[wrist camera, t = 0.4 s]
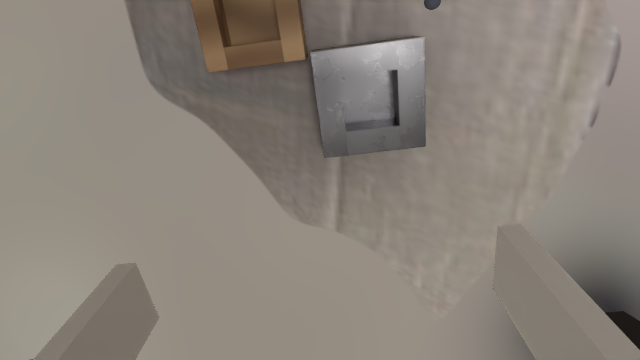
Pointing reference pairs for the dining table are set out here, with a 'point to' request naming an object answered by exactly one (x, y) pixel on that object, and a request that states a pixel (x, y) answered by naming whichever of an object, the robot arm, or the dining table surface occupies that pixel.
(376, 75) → the block
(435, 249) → the dining table surface
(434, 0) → the toy drill
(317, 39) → the dining table surface
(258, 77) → the dining table surface
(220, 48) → the wooden square frame
